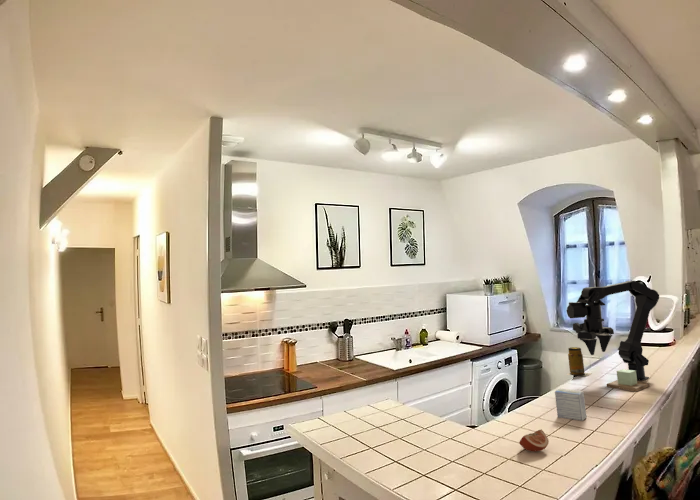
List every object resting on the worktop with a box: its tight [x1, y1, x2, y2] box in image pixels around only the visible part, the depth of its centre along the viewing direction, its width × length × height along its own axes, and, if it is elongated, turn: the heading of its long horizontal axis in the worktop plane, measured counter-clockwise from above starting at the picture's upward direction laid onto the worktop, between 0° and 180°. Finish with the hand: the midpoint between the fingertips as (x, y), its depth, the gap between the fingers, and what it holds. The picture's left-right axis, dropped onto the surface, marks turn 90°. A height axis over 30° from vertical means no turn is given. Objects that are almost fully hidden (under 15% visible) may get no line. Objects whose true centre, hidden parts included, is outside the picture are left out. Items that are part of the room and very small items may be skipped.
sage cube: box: [616, 368, 638, 386], centre depth 175 cm, size 5×5×5 cm
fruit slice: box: [518, 429, 550, 453], centre depth 120 cm, size 8×7×5 cm
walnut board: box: [606, 379, 650, 392], centre depth 175 cm, size 11×11×1 cm
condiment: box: [567, 346, 592, 377], centre depth 201 cm, size 7×8×12 cm
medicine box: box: [554, 388, 587, 422], centre depth 144 cm, size 8×4×9 cm, turn 47°
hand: (598, 353), depth 185 cm, fingers open, 9 cm apart
